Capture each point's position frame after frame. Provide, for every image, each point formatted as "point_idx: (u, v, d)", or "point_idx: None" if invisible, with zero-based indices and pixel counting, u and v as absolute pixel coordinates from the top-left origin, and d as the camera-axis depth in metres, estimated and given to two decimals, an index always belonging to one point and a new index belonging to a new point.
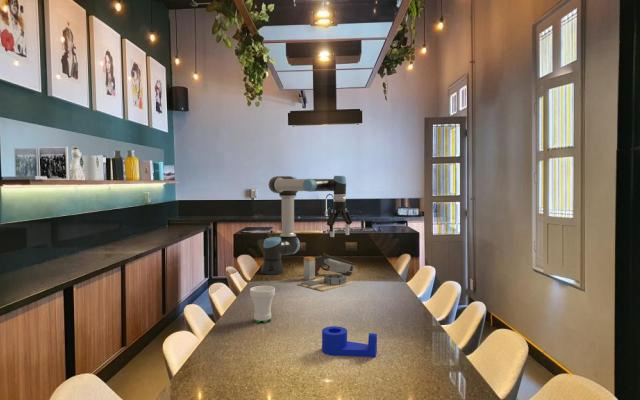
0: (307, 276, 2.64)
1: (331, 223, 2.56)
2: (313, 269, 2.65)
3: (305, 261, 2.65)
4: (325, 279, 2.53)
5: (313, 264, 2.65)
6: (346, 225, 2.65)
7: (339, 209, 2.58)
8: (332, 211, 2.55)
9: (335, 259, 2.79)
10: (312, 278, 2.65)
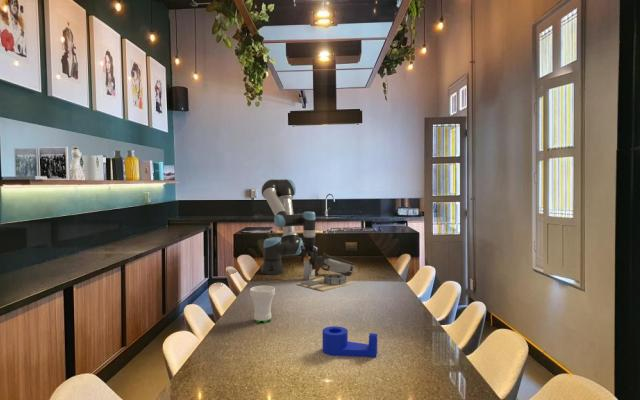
0: (307, 276, 2.64)
1: None
2: None
3: (305, 261, 2.65)
4: (325, 279, 2.53)
5: None
6: None
7: (305, 243, 2.66)
8: None
9: (335, 259, 2.79)
10: (312, 278, 2.65)
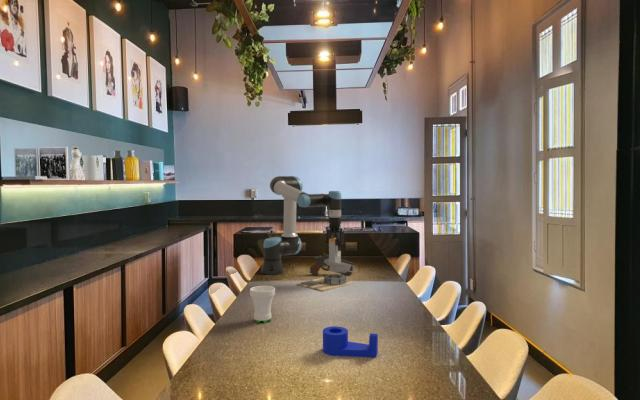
0: (333, 258, 2.53)
1: None
2: None
3: (330, 242, 2.54)
4: (325, 279, 2.53)
5: None
6: None
7: (331, 224, 2.55)
8: None
9: None
10: (338, 260, 2.54)
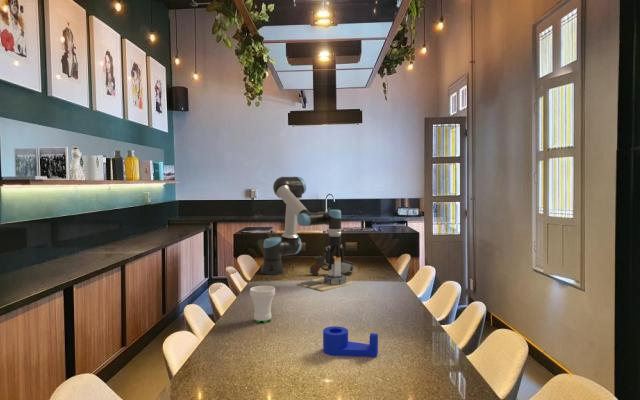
0: (338, 276, 2.55)
1: None
2: None
3: (336, 261, 2.53)
4: (325, 279, 2.53)
5: None
6: None
7: (333, 243, 2.53)
8: (327, 249, 2.51)
9: None
10: None
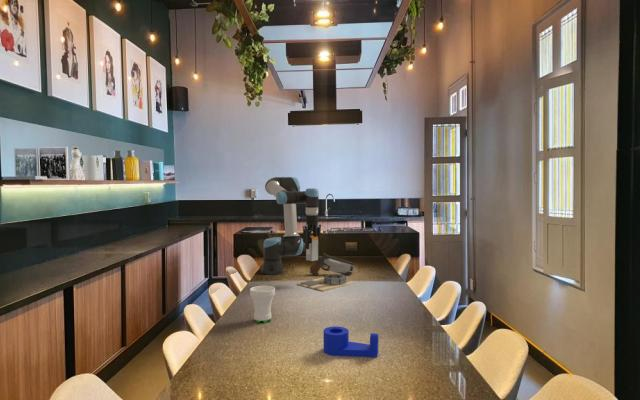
0: (316, 255, 2.52)
1: None
2: None
3: (314, 240, 2.50)
4: (325, 279, 2.53)
5: None
6: None
7: (310, 222, 2.50)
8: (304, 228, 2.48)
9: (335, 259, 2.79)
10: None
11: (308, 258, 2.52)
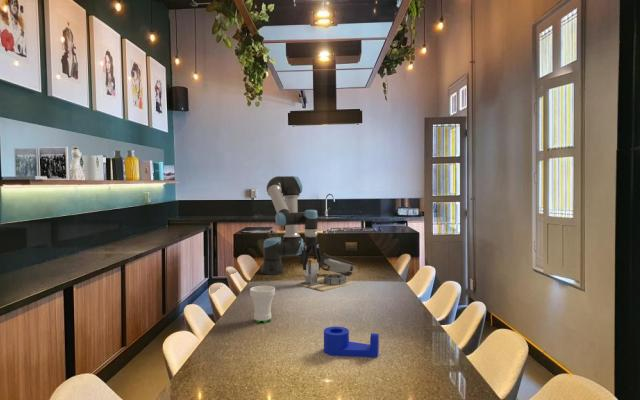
0: (315, 278, 2.52)
1: None
2: None
3: (313, 263, 2.51)
4: (325, 279, 2.53)
5: None
6: None
7: (310, 244, 2.51)
8: (303, 249, 2.48)
9: (335, 259, 2.79)
10: None
11: (307, 281, 2.52)
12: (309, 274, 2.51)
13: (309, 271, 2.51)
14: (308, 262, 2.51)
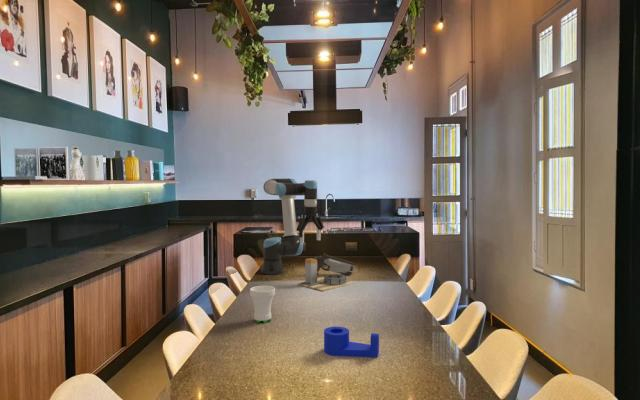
0: (315, 278, 2.52)
1: (301, 229, 2.52)
2: None
3: (313, 263, 2.51)
4: (325, 279, 2.53)
5: None
6: (317, 230, 2.61)
7: (309, 214, 2.54)
8: (302, 216, 2.51)
9: (335, 259, 2.79)
10: None
11: (307, 281, 2.52)
12: (309, 274, 2.51)
13: (309, 271, 2.51)
14: (308, 262, 2.51)
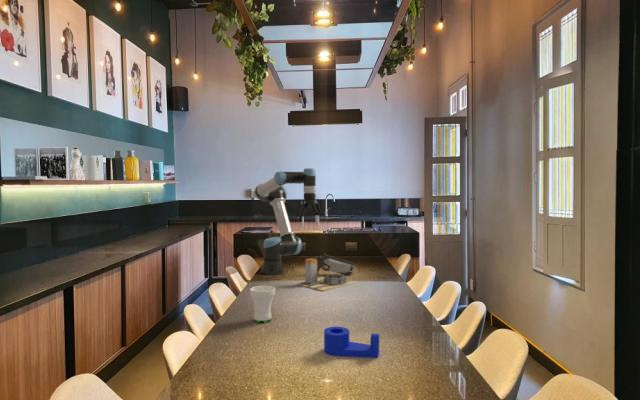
0: (315, 278, 2.52)
1: None
2: None
3: (313, 263, 2.51)
4: (325, 279, 2.53)
5: None
6: (316, 216, 2.76)
7: (309, 200, 2.69)
8: (301, 202, 2.66)
9: (335, 259, 2.79)
10: None
11: (307, 281, 2.52)
12: (309, 274, 2.51)
13: (309, 271, 2.51)
14: (308, 262, 2.51)
